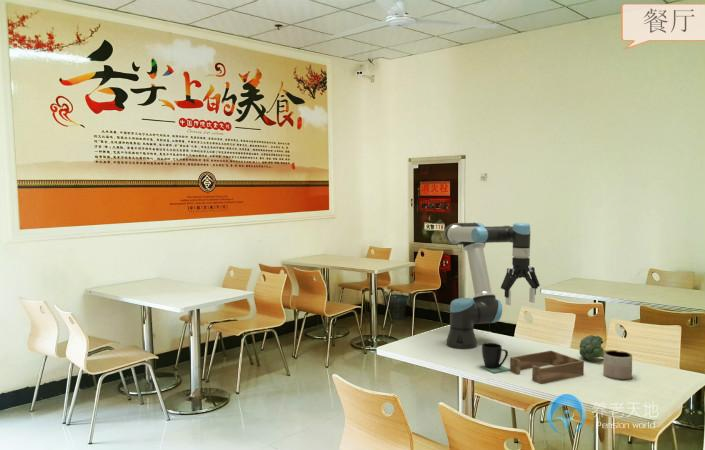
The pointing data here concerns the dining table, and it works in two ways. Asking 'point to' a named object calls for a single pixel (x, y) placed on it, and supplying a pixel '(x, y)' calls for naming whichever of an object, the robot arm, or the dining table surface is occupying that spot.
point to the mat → (495, 369)
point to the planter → (617, 365)
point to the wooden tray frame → (560, 370)
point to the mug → (492, 355)
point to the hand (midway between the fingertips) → (520, 303)
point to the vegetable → (591, 347)
